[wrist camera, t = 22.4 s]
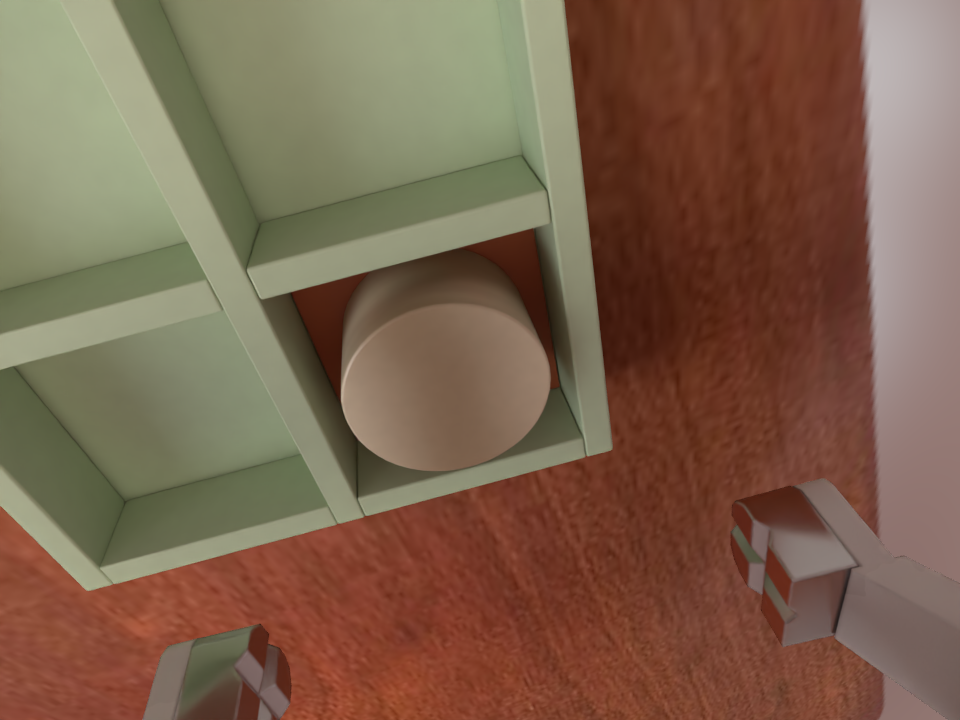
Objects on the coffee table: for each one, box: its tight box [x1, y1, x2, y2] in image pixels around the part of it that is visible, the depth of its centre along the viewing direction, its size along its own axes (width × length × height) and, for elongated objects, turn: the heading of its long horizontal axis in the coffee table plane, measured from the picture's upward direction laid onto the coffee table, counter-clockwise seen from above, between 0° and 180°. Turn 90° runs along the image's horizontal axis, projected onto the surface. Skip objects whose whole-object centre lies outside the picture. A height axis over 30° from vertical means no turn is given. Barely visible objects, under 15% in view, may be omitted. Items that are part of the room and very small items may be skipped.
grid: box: [0, 0, 613, 591], centre depth 14 cm, size 15×15×3 cm
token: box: [341, 248, 551, 471], centre depth 16 cm, size 5×5×3 cm
